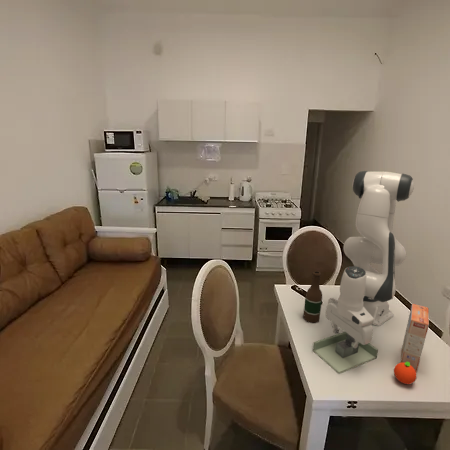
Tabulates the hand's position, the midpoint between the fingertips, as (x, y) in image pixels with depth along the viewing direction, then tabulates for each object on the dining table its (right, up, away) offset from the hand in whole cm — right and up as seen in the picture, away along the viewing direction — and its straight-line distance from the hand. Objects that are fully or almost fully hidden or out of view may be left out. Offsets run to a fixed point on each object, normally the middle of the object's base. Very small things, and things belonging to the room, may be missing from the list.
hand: (344, 339), depth 122 cm
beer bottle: (-6, 0, +25) cm, 26 cm away
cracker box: (+25, -8, 0) cm, 26 cm away
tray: (+1, -6, +2) cm, 7 cm away
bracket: (+1, -6, +2) cm, 6 cm away
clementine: (+17, -11, -11) cm, 23 cm away
